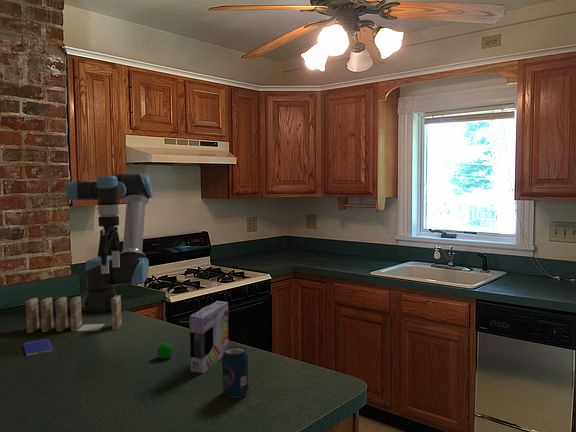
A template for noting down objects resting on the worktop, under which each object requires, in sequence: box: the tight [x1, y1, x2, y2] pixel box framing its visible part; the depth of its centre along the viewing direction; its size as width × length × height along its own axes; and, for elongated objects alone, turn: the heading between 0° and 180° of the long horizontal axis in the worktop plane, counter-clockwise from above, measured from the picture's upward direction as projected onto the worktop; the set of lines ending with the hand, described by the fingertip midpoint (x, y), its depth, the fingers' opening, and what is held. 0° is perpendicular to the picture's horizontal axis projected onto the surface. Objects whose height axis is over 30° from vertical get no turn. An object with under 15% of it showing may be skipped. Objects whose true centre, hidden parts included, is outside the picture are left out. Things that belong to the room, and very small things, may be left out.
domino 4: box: [69, 296, 83, 332], centre depth 196 cm, size 2×6×12 cm, turn 4°
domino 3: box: [54, 296, 69, 332], centre depth 195 cm, size 2×6×12 cm, turn 4°
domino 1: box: [25, 297, 40, 333], centre depth 194 cm, size 2×6×12 cm, turn 4°
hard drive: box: [23, 338, 54, 357], centre depth 174 cm, size 2×8×12 cm
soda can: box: [221, 346, 250, 399], centre depth 135 cm, size 7×7×12 cm
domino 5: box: [111, 294, 123, 330], centre depth 197 cm, size 2×6×12 cm, turn 4°
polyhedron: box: [156, 342, 174, 360], centre depth 163 cm, size 5×5×5 cm
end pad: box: [76, 323, 105, 332], centre depth 196 cm, size 8×8×1 cm
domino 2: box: [39, 296, 54, 333], centre depth 195 cm, size 2×6×12 cm, turn 4°
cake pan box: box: [189, 300, 229, 374], centre depth 157 cm, size 19×5×18 cm, turn 161°
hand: (110, 270), depth 195 cm, fingers open, 13 cm apart
